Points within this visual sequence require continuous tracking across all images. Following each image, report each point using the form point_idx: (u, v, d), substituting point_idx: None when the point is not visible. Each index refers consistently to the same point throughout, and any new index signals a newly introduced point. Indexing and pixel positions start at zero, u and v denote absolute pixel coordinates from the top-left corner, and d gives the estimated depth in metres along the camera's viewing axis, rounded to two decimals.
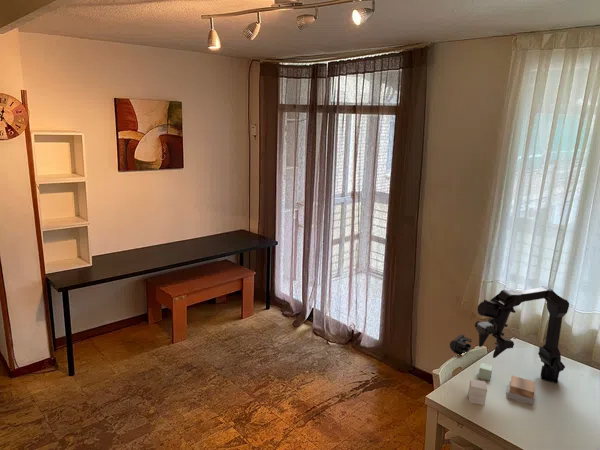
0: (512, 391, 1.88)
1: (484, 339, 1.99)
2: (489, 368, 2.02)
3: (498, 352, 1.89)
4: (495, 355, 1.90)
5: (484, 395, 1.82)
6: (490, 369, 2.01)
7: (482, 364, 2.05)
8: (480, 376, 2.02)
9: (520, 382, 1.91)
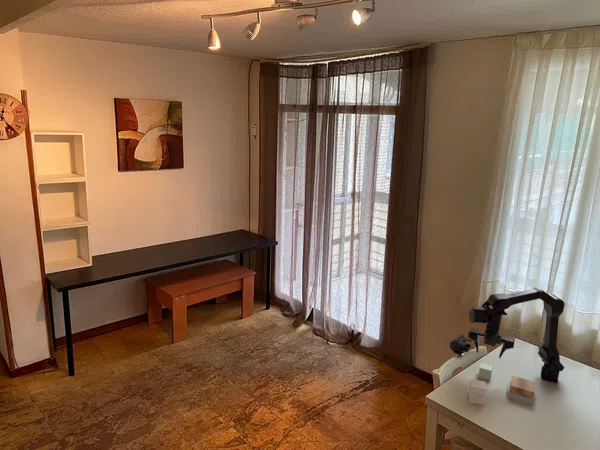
0: (512, 391, 1.88)
1: (478, 344, 2.04)
2: (489, 368, 2.02)
3: None
4: None
5: (484, 395, 1.82)
6: (490, 369, 2.01)
7: (482, 364, 2.05)
8: (480, 376, 2.02)
9: (521, 382, 1.91)
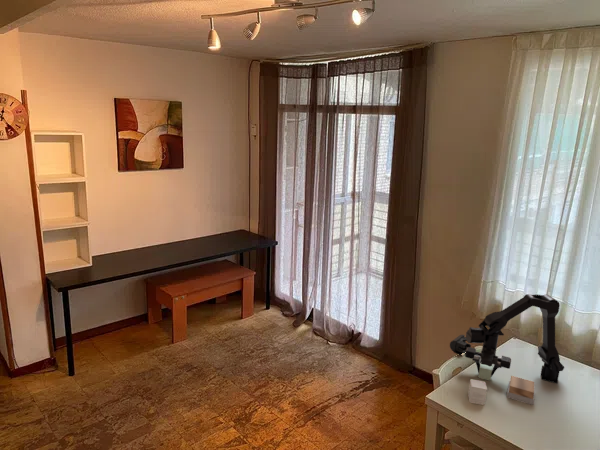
0: (511, 391, 1.88)
1: None
2: (489, 368, 2.02)
3: (495, 370, 2.02)
4: None
5: (484, 395, 1.82)
6: (490, 369, 2.01)
7: (482, 364, 2.05)
8: (480, 376, 2.02)
9: (520, 382, 1.91)
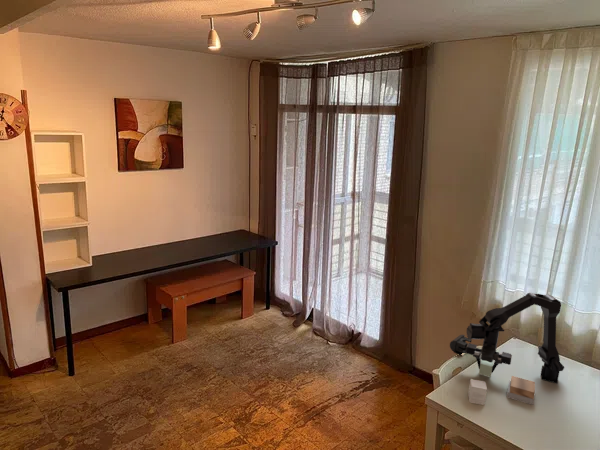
0: (512, 391, 1.88)
1: (480, 360, 2.05)
2: (490, 364, 2.01)
3: (495, 366, 2.01)
4: (493, 370, 2.01)
5: (484, 395, 1.82)
6: (491, 365, 2.00)
7: None
8: (481, 372, 2.02)
9: (520, 382, 1.91)
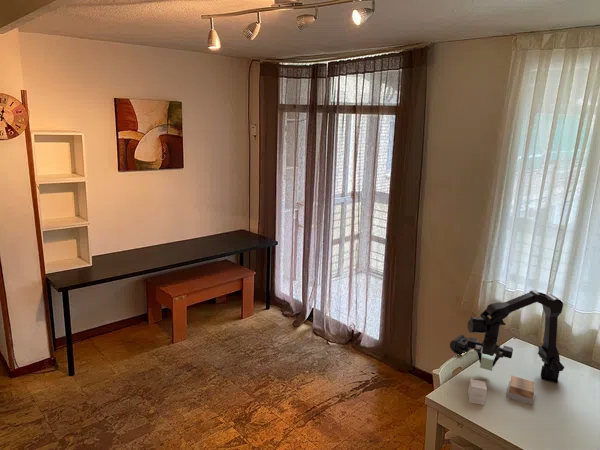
0: (511, 391, 1.88)
1: (481, 354, 2.04)
2: (491, 358, 2.01)
3: (496, 360, 2.00)
4: (494, 364, 2.01)
5: (484, 395, 1.82)
6: (492, 359, 2.00)
7: (484, 354, 2.04)
8: (482, 366, 2.01)
9: (520, 382, 1.91)
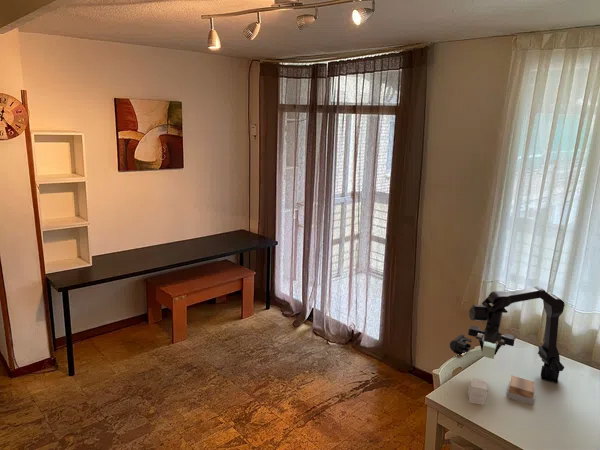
0: (511, 391, 1.88)
1: (483, 342, 2.03)
2: (493, 346, 1.99)
3: (498, 348, 1.99)
4: (496, 352, 1.99)
5: (484, 395, 1.82)
6: (494, 347, 1.98)
7: (485, 342, 2.02)
8: (483, 354, 2.00)
9: (520, 382, 1.91)
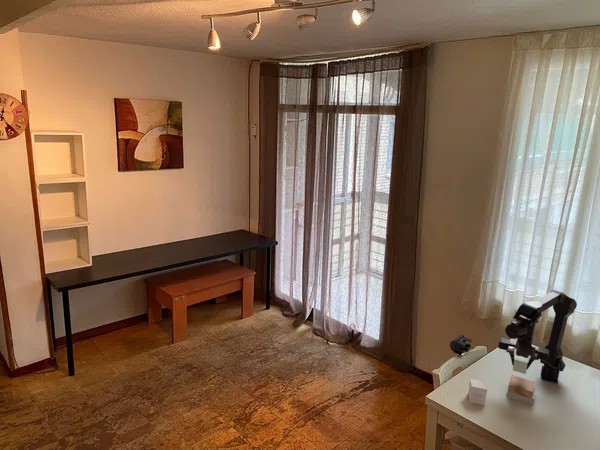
0: (510, 390, 1.89)
1: None
2: (525, 360, 1.88)
3: None
4: (528, 366, 1.88)
5: (484, 395, 1.82)
6: (526, 361, 1.87)
7: (516, 356, 1.91)
8: (515, 369, 1.89)
9: (520, 381, 1.91)
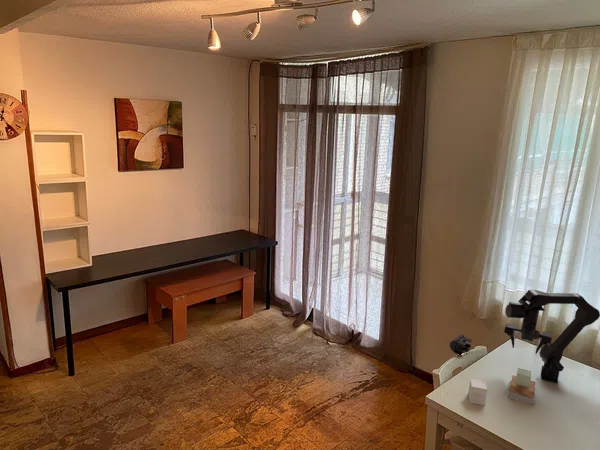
0: (512, 390, 1.89)
1: (514, 339, 2.05)
2: (528, 373, 1.88)
3: (539, 347, 1.99)
4: (537, 351, 2.00)
5: (484, 395, 1.82)
6: (529, 375, 1.87)
7: (519, 369, 1.91)
8: (518, 382, 1.89)
9: None
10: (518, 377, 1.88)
